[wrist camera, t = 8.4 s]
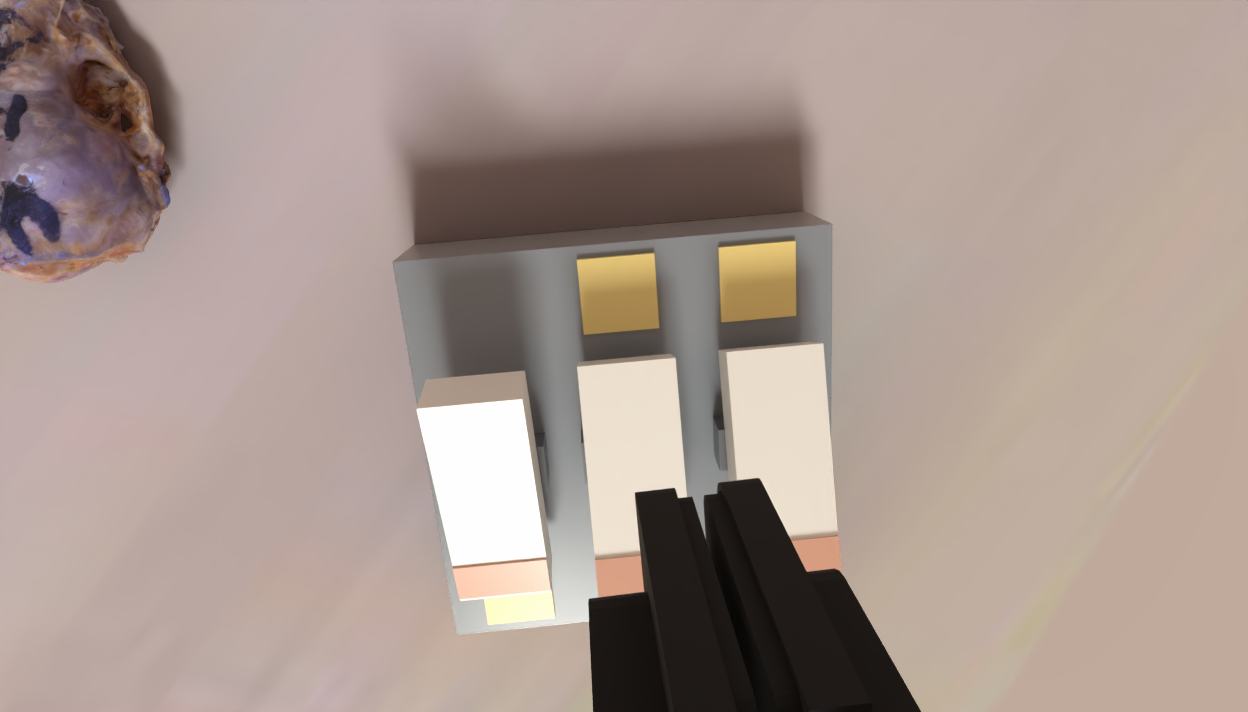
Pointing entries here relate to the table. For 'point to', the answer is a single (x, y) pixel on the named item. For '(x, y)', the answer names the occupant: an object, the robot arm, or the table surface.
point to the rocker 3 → (784, 439)
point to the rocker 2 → (628, 455)
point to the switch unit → (608, 349)
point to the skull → (72, 144)
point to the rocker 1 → (487, 483)
